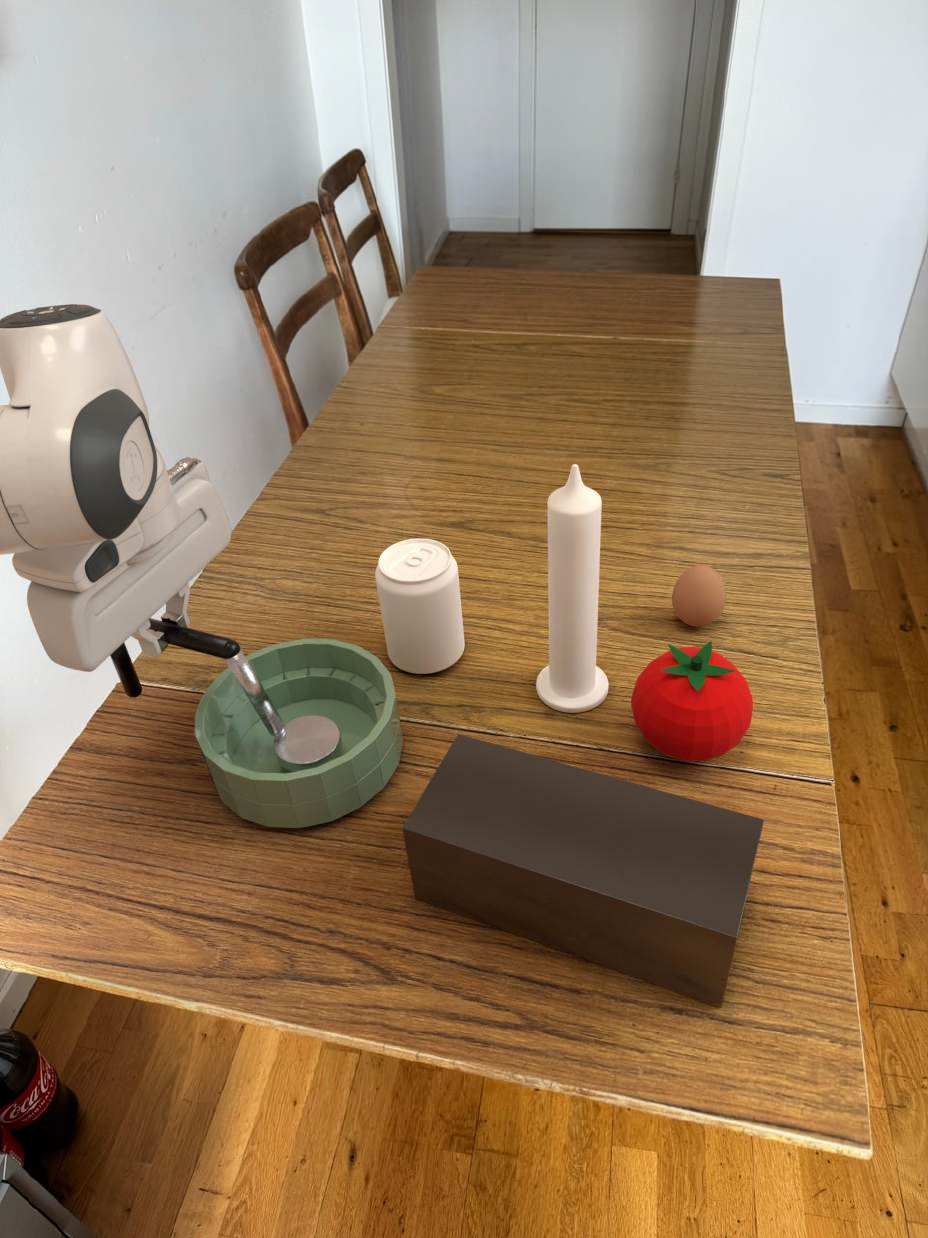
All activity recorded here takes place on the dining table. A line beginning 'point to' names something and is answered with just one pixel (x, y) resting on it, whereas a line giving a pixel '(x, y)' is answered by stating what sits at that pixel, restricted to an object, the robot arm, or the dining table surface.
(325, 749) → the black and silver ladle
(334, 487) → the dining table surface
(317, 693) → the bowl
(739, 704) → the tomato
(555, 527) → the candle
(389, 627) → the beverage can
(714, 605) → the egg
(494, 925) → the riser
